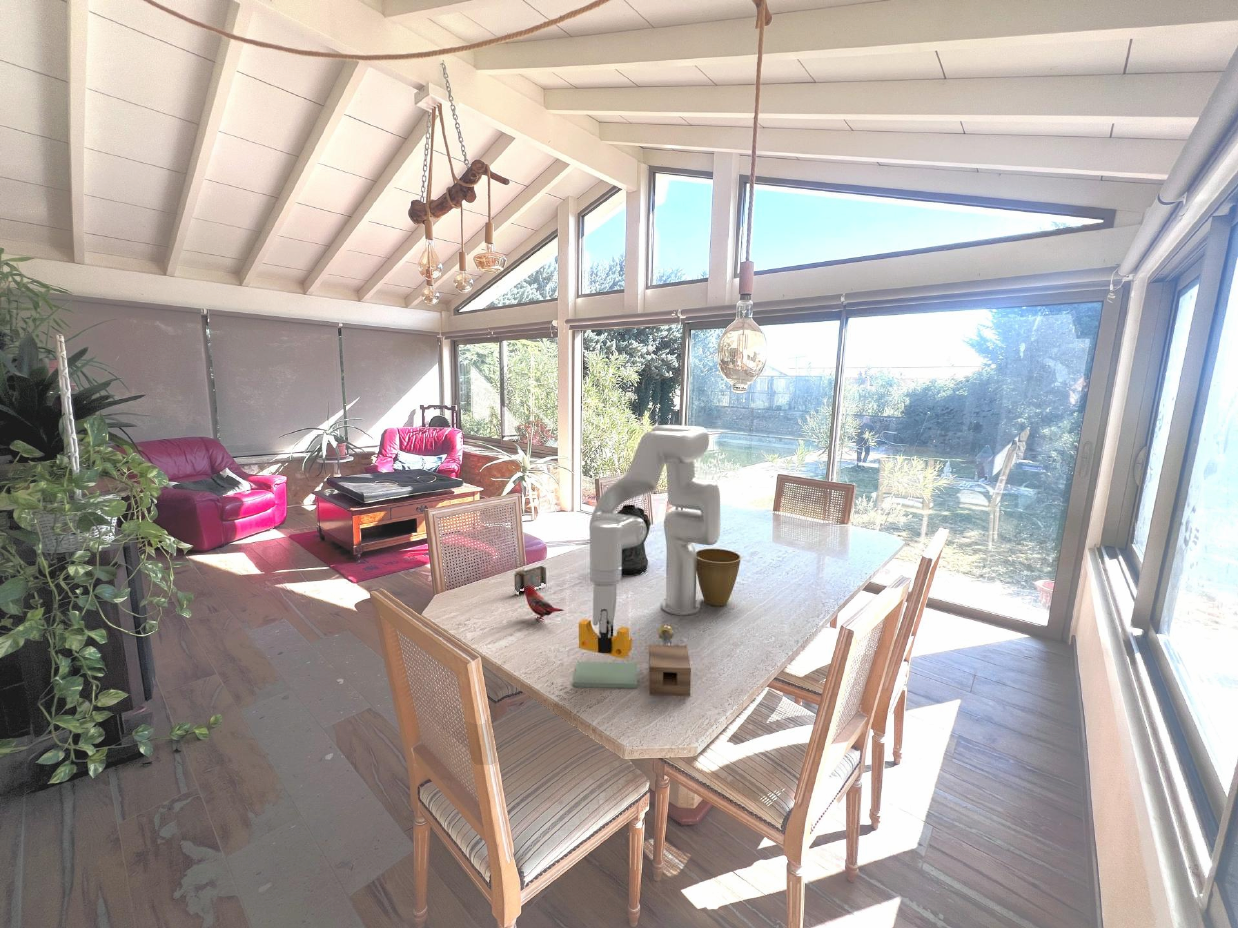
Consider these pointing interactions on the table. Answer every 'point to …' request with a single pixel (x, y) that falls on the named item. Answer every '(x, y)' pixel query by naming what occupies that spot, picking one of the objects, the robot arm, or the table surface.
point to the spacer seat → (606, 674)
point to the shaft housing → (669, 670)
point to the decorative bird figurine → (538, 603)
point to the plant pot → (717, 574)
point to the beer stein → (635, 556)
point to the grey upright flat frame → (530, 577)
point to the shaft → (665, 634)
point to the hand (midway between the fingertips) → (605, 645)
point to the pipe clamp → (590, 640)
